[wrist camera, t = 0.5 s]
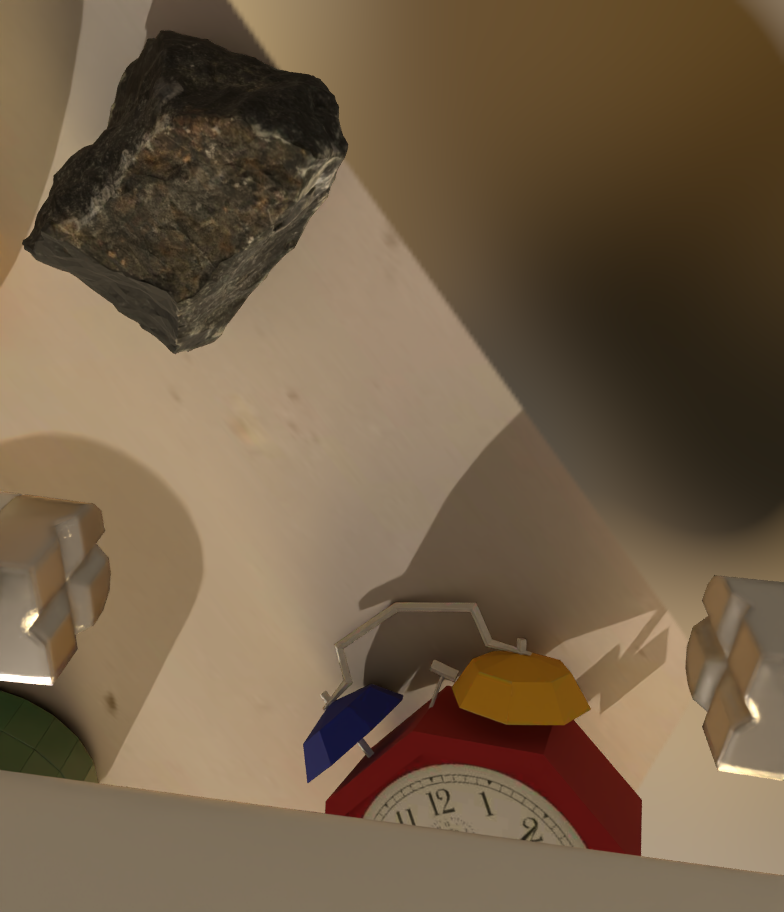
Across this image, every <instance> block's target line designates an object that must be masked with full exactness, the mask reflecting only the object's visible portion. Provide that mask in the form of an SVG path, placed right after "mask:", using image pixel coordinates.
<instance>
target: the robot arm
mask: <svg viewBox="0 0 784 912" xmlns="http://www.w3.org/2000/svg"><path fill="white" fill-rule="evenodd" d="M104 532H105V528H104V522H103V517H102V511H101V510H100V509H99V508H98V507H97V506H96V505H95V504H93V503H85V502H78V501H70V500H63V499H56V498H48V497H41V496H33V495H26V494H25V495H22V494H19V493H10V492H1V491H0V680H1V681H11V682H21V683H31V684H41V685H51V686H53V684H54V683H55V681H56V680H57V678H58V677H59V675H60V674H61V672H62V671H63V670H64V668H65V667H66V665H67V664H68V662H69V661H70V659H71V658H72V656H73V655H74V653H75V652H76V651H77V649H78V648H77V642H76V634H78V633H80V632H82V631H84V630H86V629H88V628H90V627H91V626H93V625H94V624H95V622H96V621H97V619H98V618H99V616H100V614H101V613H102V611H103V609H104V606H105V603H106V600H107V597H108V594H109V590H110V577H111V571H110V563H109V558H108V557H107V556H106V554H105V553H104V552H103V551H102V550H101V549H100V547H99V546H98V545H97V544H96V543H97V541H98V540H99V539H100V537H101V536H102V535H103V533H104ZM702 602H703V604H704V606H705V609H706V611H707V614H708V617H706V618H705V619H703V620H702V621H700V622H699V623H698V624H696V625H695V626H694V627H693V628H692V631H691V635H690V638H689V641H688V645H687V652H686V667H685V668H686V675H687V682H688V686H689V689H690V692H691V695H692V698H693V700H694V701H696V702H697V703H698V704H699V705H700V706H701V707H703V708H704V709H705V710H706V711H707V715H706V718H705V721H704V723H703V726H702V727H703V730H704V733H705V736H706V739H707V741H708V744H709V747H710V750H711V753H712V756H713V759H714V762H715V764H716V767H717V770H718V771H724V772H730V773H737V774H743V775H750V776H757V777H763V778H769V779H776V780H782V781H784V582H777V581H767V580H756V579H747V578H736V577H727V576H717V575H714V577H713V578H712V579H711V581H710V582H709V583H708V585H707V588H706V590H705V593H704V596H703V599H702ZM0 912H784V875H777V874H770V873H762V872H754V871H747V870H739V869H731V868H724V867H716V866H709V865H702V864H694V863H687V862H680V861H672V860H665V859H657V858H650V857H643V856H636V855H628V854H621V853H614V852H606V851H599V850H592V849H584V848H577V847H570V846H562V845H555V844H548V843H540V842H533V841H526V840H518V839H511V838H504V837H496V836H489V835H482V834H474V833H467V832H460V831H452V830H445V829H437V828H430V827H422V826H415V825H407V824H400V823H392V822H385V821H377V820H370V819H362V818H355V817H347V816H340V815H332V814H325V813H317V812H310V811H302V810H295V809H287V808H280V807H272V806H265V805H257V804H250V803H242V802H235V801H227V800H220V799H212V798H205V797H198V796H190V795H183V794H175V793H168V792H160V791H153V790H145V789H138V788H130V787H123V786H115V785H108V784H100V783H93V782H86V781H78V780H71V779H63V778H56V777H48V776H41V775H33V774H26V773H19V772H11V771H4V770H0Z"/></svg>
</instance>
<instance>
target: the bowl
mask: <svg viewBox="0 0 784 912" xmlns="http://www.w3.org/2000/svg"><path fill="white" fill-rule="evenodd" d="M0 770H4V771H11V772H19V773H26V774H33V775H41V776H48V777H56V778H63V779H71V780H78V781H86V782H93V783H98V779H97V775H96V770H95V765H94V762H93V760H92V758H91V756H90V755H89V753H88V752H87V750H86V749H85V747H84V746H83V744H82V742H81V741H80V739H79V738H78V737H77V736H76V735H75V734H74V733H73V732H72V731H71V730H69V729H68V728H67V727H66V726H65V725H64V724H63V723H62V722H61V721H60V720H58V719H57V718H56V717H55V716H54V715H52V714H50V713H48V712H47V711H45V710H43V709H42V708H40V707H38V706H36V705H35V704H33V703H31V702H30V701H28V700H26V699H24V698H21V697H18V696H15V695H12V694H9V693H6V692H4V691H1V690H0Z"/></svg>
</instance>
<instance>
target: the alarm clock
mask: <svg viewBox="0 0 784 912" xmlns="http://www.w3.org/2000/svg"><path fill="white" fill-rule="evenodd" d="M398 611H437V612H471V614H472V616H473V619H474V621H475V623H476V625H477V628H478V630H479V632H480V635H481V637H482V639H483V642H484V644H485V646H486V647H489V648H494V649H499V650H503V651H492V652H489V653H486V654H484V655H481V656H479V657H476V658H473V659H472V660H471V661H470V663H469V664H468V666H467V667H466V668H465V670H464V671H463V672H462V674H461V675H460V677H459V678H458V679H457V681H456V682H455V680H456V678H457V676H458V672H459V671H458V670H456V669H453V668H451V667H449V666H447V665H445V664H443V663H441V662H439V661H437V660H434V661H433V663H432V665H431V667H430V671H432V672H434V673H436V674H438V675H440V679H439V681H438V684H437V687H436V689H435V692H434V695H433V698H432V699H430V700H429V701H428V702H427V703H426V704H424V705H423V706H422V707H421V708H420V709H418V710H417V711H416V712H415V713H413V714H412V715H411V716H410V717H409V718H407V719H406V720H405V721H404V722H403V723H401V724H400V725H399V726H398V727H396V728H395V729H394V730H393V731H392V732H390V733H389V734H388V735H387V736H386V737H384V738H383V739H382V740H381V741H379V742H378V743H377V744H376V745H375V746H373V747H372V748H370V747H369V745H368V744H367V743H366V742H365V740H364V739H363V737H364V736H366V735H367V734H368V733H369V732H370V731H371V730H372V729H373V728H374V727H375V726H376V725H377V724H378V723H379V722H381V721H382V720H383V719H384V718H385V717H386V716H387V715H388V714H389V713H390V712H391V711H392V710H393V709H394V708H395V707H396V706H397V705H398V704H399V703H400V702H401V701H402V699H403V695H401V694H399V693H396V692H393V691H390V690H388V689H385V688H382V687H379V686H377V685H374V684H370V685H368V686H365V687H363V688H361V689H359V690H357V691H355V692H353V693H351V694H348V695H346V696H344V697H342V698H340V699H338V700H336V699H337V698H338V697H339V696H340V695H341V694H342V693H343V692H344V691H345V690H346V689H347V688H348V687H349V686H350V685H351V684H352V679H351V676H350V672H349V668H348V664H347V661H346V657H345V653H344V648H345V647H347V646H348V645H350V644H351V643H353V642H354V641H355V640H357V639H358V638H360V637H361V636H363V635H364V634H366V633H367V632H369V631H370V630H371V629H373V628H374V627H376V626H377V625H379V624H380V623H382V622H383V621H385V620H386V619H388V618H389V617H390V616H392V615H393V614H395V613H396V612H398ZM526 642H527V640H526V639H524V638H517V647H514V646H511V645H508V644H505V643H502V642H499V641H496V640H492V638H491V636H490V633H489V631H488V629H487V627H486V624H485V622H484V620H483V617H482V615H481V613H480V610H479V608H478V606H477V604H476V603H421V602H395V603H394V604H392V605H391V606H389V607H388V608H386V609H385V610H383V611H382V612H381V613H379V614H378V615H376V616H375V617H373V618H372V619H370V620H369V621H368V622H366V623H365V624H363V625H362V626H360V627H359V628H357V629H356V630H355V631H353V632H352V633H350V634H349V635H347V636H346V637H344V638H343V639H341V640H340V641H339V642H337V643H336V644H334V645H335V649H336V653H337V657H338V660H339V664H340V668H341V672H342V676H343V679H344V680H343V682H342V683H341V684H340V686H339V687H338V688H337V690H336V691H335V692H334V694H333V695H332V697H330V695H329V694H328V693H327V692H326V691H325V692H323V693H322V694H321V695H320V696H321V697H322V699H323V700H324V701H325V703H326V705H325V706H324V707H323V710H324V709H326V710H325V712H324V713H323V715H322V717H321V718H320V720H319V721H318V723H317V724H316V726H315V727H314V729H313V730H312V732H311V733H310V735H309V736H308V738H307V739H306V741H305V742H304V744H303V747H304V756H305V765H306V774H307V783H309V782H310V781H311V780H313V779H314V778H315V777H317V776H318V775H319V774H321V773H322V772H323V771H325V770H326V769H327V768H329V767H330V766H331V765H333V764H334V763H335V762H336V761H337V760H338V759H339V758H341V757H342V756H343V755H344V754H345V753H346V752H347V751H348V750H350V749H351V748H352V747H353V746H354V745H355V744H356V743H357V744H358V745H359V746H360V748H361V749H362V750H363V751H364V753H365V754H366V755H365V756H364V757H363V759H362V760H361V761H360V762H359V763H358V764H357V766H356V767H355V768H354V769H353V770H352V771H351V773H350V774H349V775H348V776H347V777H346V778H345V780H344V781H343V782H342V783H341V784H340V785H339V787H338V788H337V789H336V790H335V791H334V792H333V794H332V795H331V796H330V797H329V798H328V799H327V801H326V807H325V814H332V815H340V816H347V817H355V818H362V819H370V820H377V821H385V822H392V823H400V824H407V825H415V826H422V827H430V828H437V829H445V830H452V831H460V832H467V833H474V834H482V835H489V836H496V837H504V838H511V839H518V840H526V841H533V842H540V843H548V844H555V845H562V846H570V847H577V848H584V849H592V850H599V851H606V852H614V853H621V854H628V855H636V856H641V818H642V817H641V816H642V800H641V799H640V797H639V796H638V795H637V794H636V792H635V791H634V790H633V789H632V788H631V787H630V785H629V784H628V783H627V782H626V781H625V780H624V778H623V777H622V776H621V775H620V774H619V773H618V771H617V770H616V769H615V768H614V767H613V765H612V764H611V763H610V762H609V761H608V760H607V758H606V757H605V756H604V755H603V754H602V753H601V751H600V750H599V749H598V748H597V747H596V746H595V744H594V743H593V742H592V741H591V740H590V738H589V737H588V736H587V735H586V734H585V733H584V731H583V730H582V729H581V728H580V727H579V726H578V724H577V723H576V722H575V721H574V719H575V718H577V717H579V716H581V715H582V714H584V713H586V712H587V711H589V710H591V708H590V706H589V705H588V703H587V701H586V699H585V697H584V695H583V694H582V692H581V690H580V688H579V686H578V685H577V683H576V681H575V679H574V677H573V675H572V674H571V672H570V671H569V670H568V669H567V668H566V666H565V665H564V664H563V663H562V662H561V661H560V660H558V659H554V658H550V657H547V656H543V655H539V654H536V653H532V652H529V651H526ZM443 678H446V679H448V680H451V681H453V682H455V684H454V685H453V686H446V687H445V688H444V689H443V690H441V691H440V692H439V689H440V686H441V684H442V681H443ZM438 692H439V693H438ZM335 700H336V701H335Z"/></svg>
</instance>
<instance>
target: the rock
mask: <svg viewBox="0 0 784 912" xmlns="http://www.w3.org/2000/svg"><path fill="white" fill-rule="evenodd" d="M347 149H348V143H347V141H346V139H345V138H344V136H343V134H342V131H341V127H340V122H339V106H338V104H337V102H336V100H335V96H334V95H333V94H332V93H331V92H330V91H329V89H328V88H327V86H326V85H325V84H324V83H323V82H322V81H321V79H319V78H316V77H314V76H311V75H309V74H302V73H293V72H288V71H284V70H278V69H276V68H274V67H271V66H269V65H267V64H265V63H263V62H261V61H259V60H257V59H256V58H254V57H250V56H247V55H243V54H237V53H232V52H230V51H228V50H227V49H225V48H223V47H220V46H218V45H216V44H214V43H213V42H211V41H210V40H208V39H200V38H196V37H191V36H187V35H183V34H179V33H176V32H173V31H170V30H167V31H160V33H159V34H158V36H157V37H156V38H153V39H148V40H147V43H146V45H145V48H144V50H143V51H142V53H141V54H140V56H139V58H138V59H136V60H135V61H133V62H132V63H131V64H130V65H129V66H128V67H127V68H126V70H125V72H124V73H123V75H122V78H121V80H120V82H119V85H118V88H117V93H116V98H115V102H114V104H113V105H112V106H111V111H110V117H109V122H108V127H107V130H105V131H104V132H103V133H102V134H101V135H100V137H99V138H98V139H97V140H96V142H95V143H94V144H93V145H89V146H86V147H84V148H82V149H81V150H79V151H78V152H76V153H75V154H74V155H72V156H71V157H70V158H69V159H68V161H67V162H66V163H65V164H64V165H63V167H62V168H61V169H60V170H59V171H58V172H57V173H56V174H55V175H54V179H53V185H52V188H51V190H50V192H49V197H48V199H47V200H46V201H45V203H44V204H43V205H42V207H41V209H40V211H39V212H38V214H37V217H36V221H35V226H34V229H33V231H32V233H31V234H30V236H29V237H28V238H26V239H24V240H23V243H22V244H23V245H24V249H25V250H27V251H28V252H30V253H31V254H32V256H33V257H34V258H35V259H36V260H38V261H40V262H42V263H44V264H47V265H49V266H52V267H54V268H57V269H60V270H62V271H66V272H69V273H71V274H73V275H74V276H76V277H77V278H79V279H80V280H81V281H82V282H84V283H85V284H86V285H87V286H89V287H90V288H91V289H92V290H94V291H95V292H97V293H98V294H100V295H101V296H102V297H104V298H105V299H107V300H108V301H109V302H111V303H112V304H113V305H114V306H115V307H116V309H117V310H118V311H119V312H121V313H122V314H123V315H125V316H127V317H129V318H130V319H132V320H134V321H136V322H138V323H139V324H140V326H141V327H142V328H143V329H144V330H146V331H148V332H149V333H151V334H152V335H154V336H155V337H156V338H158V339H159V340H160V341H161V342H162V343H163V344H164V345H165V346H166V347H167V348H168V349H169V350H170V351H171V352H172V353H174V354H176V353H178V352H181V351H188V352H189V351H191V350H193V349H195V348H198V347H202V346H204V345H207V344H210V343H212V342H214V341H215V340H216V339H218V338H219V337H220V336H221V335H222V333H223V331H224V329H225V326H226V325H227V324H228V323H229V321H230V320H231V319H232V318H233V316H234V315H235V314H236V313H237V311H238V310H239V309H240V307H241V306H242V304H243V303H244V302H245V300H246V299H247V297H248V296H249V295H250V294H251V293H252V291H253V290H254V289H255V288H256V287H257V286H258V285H259V284H260V283H261V282H262V281H264V280H265V279H266V277H267V275H268V273H269V272H270V270H271V269H272V268H273V267H274V266H275V265H276V264H277V263H278V262H279V261H280V260H281V258H282V257H283V256H285V255H286V254H287V253H288V252H289V251H291V250H292V249H294V248H295V246H296V244H297V242H298V240H299V238H300V236H301V235H302V233H303V231H304V228H305V226H306V224H307V223H308V221H309V219H310V218H311V216H312V215H313V214H314V212H315V211H316V210H317V209H318V208H319V207H320V206H321V205H322V203H323V202H324V201H325V200H326V199H327V197H328V194H329V190H330V187H331V185H332V183H333V181H334V180H335V177H336V173H337V170H338V168H339V166H340V164H341V163H342V161H343V159H344V158H345V155H346V152H347Z"/></svg>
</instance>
